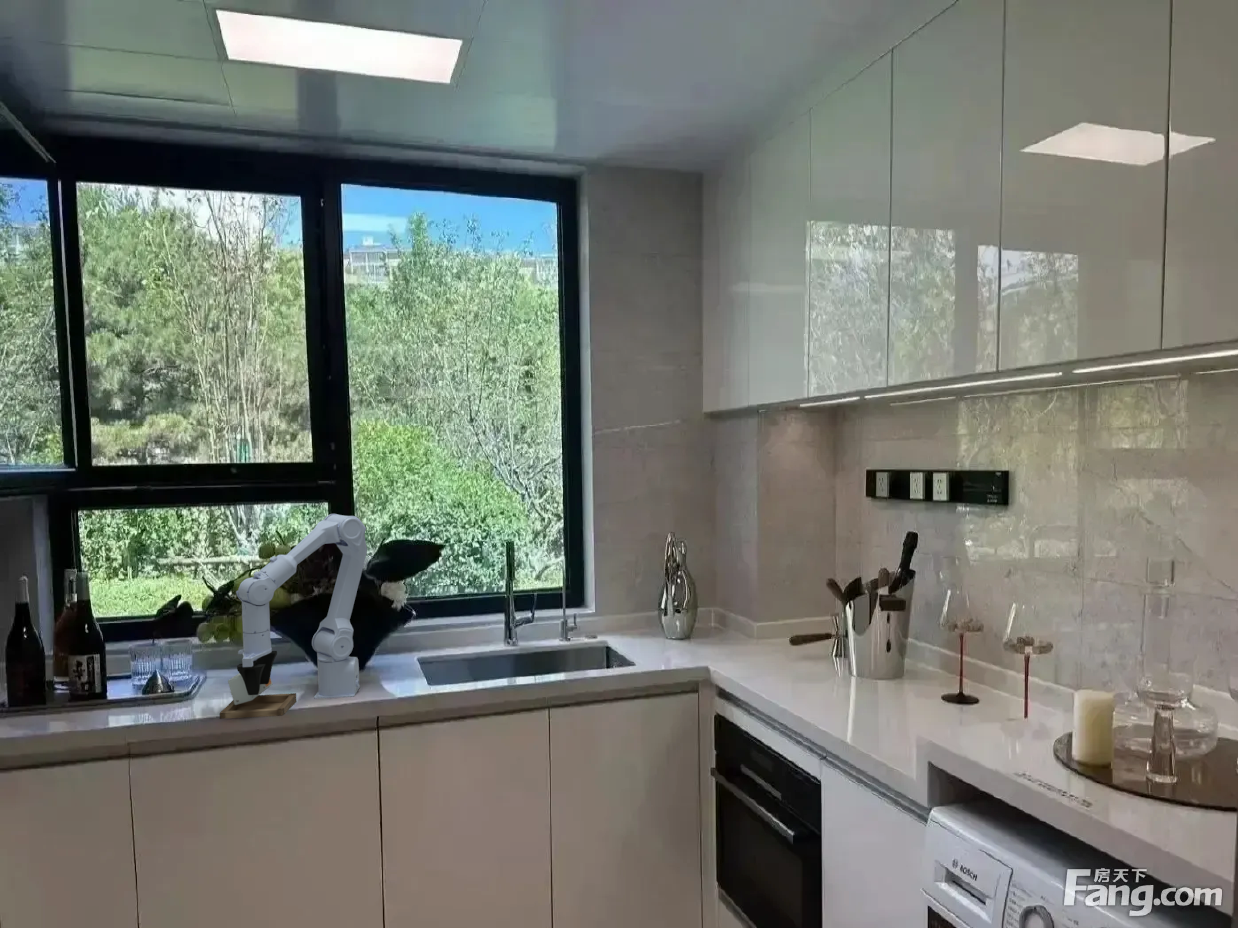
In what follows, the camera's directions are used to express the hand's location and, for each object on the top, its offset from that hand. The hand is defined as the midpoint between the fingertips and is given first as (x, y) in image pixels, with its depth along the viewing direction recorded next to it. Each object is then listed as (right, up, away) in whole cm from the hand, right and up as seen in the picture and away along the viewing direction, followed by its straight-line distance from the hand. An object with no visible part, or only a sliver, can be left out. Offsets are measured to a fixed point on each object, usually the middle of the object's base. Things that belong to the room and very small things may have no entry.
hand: (258, 689), depth 188 cm
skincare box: (-4, +1, +11) cm, 11 cm away
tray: (0, -6, 0) cm, 6 cm away
